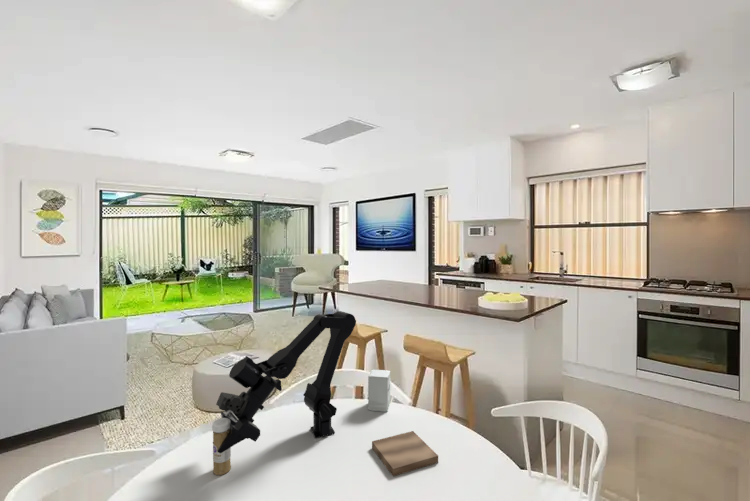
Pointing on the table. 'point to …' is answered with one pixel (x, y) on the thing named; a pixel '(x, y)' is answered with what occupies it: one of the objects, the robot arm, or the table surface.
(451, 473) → the table surface
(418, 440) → the brown wooden square board
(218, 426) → the sprinkles bottle
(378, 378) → the supplement box
